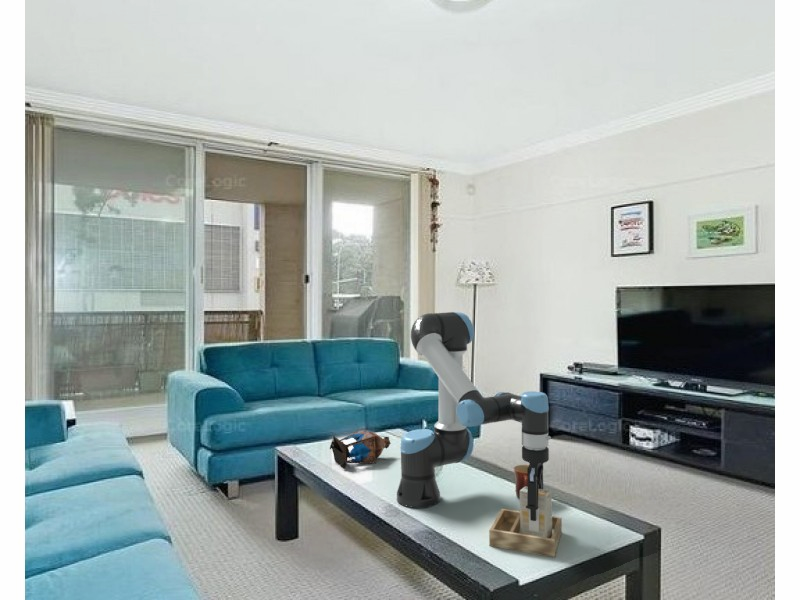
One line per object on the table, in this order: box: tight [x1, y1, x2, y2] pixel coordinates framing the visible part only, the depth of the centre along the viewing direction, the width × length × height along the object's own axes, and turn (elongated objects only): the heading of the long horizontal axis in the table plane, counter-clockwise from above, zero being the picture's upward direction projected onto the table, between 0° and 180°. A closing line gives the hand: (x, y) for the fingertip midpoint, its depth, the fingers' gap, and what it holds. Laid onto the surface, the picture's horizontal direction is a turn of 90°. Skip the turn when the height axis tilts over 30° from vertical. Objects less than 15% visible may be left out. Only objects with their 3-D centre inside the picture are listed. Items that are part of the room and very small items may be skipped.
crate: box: [488, 508, 563, 558], centre depth 157 cm, size 18×16×4 cm
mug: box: [513, 464, 529, 500], centre depth 185 cm, size 12×9×10 cm
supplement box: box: [519, 486, 553, 538], centre depth 156 cm, size 8×5×13 cm, turn 55°
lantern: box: [329, 428, 391, 470], centre depth 230 cm, size 16×16×25 cm
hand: (536, 525), depth 156 cm, fingers open, 6 cm apart
